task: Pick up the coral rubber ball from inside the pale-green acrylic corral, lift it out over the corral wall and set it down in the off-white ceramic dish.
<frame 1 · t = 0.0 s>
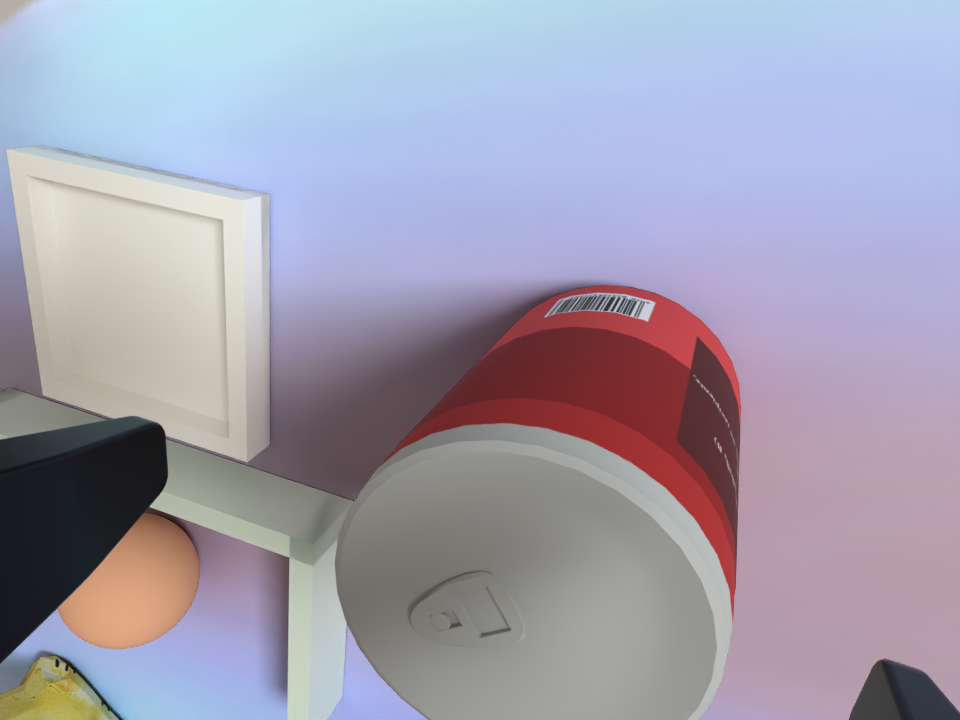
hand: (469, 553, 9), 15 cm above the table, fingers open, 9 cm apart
dish: (159, 299, 28), on the table
chocolate bunny: (93, 708, 41), on the table
canned food: (612, 389, 23), on the table
ball: (130, 578, 31), point 3 cm above the table
corral: (175, 541, 33), on the table
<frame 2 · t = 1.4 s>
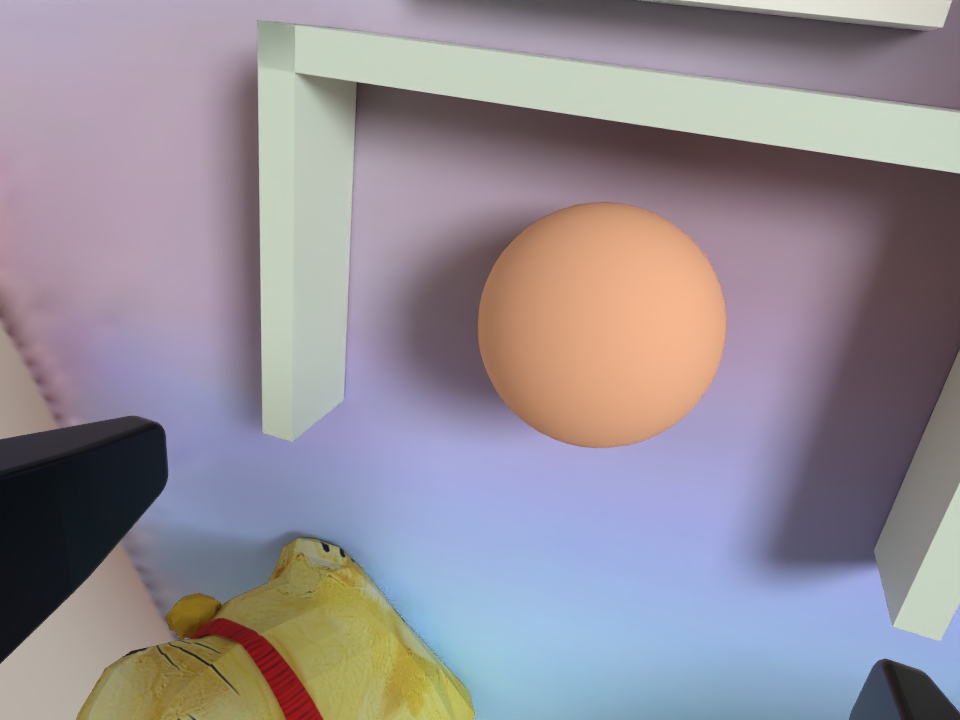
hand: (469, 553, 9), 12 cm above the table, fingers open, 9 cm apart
chocolate bunny: (361, 624, 27), on the table
ball: (598, 326, 17), point 3 cm above the table
corral: (618, 293, 19), on the table
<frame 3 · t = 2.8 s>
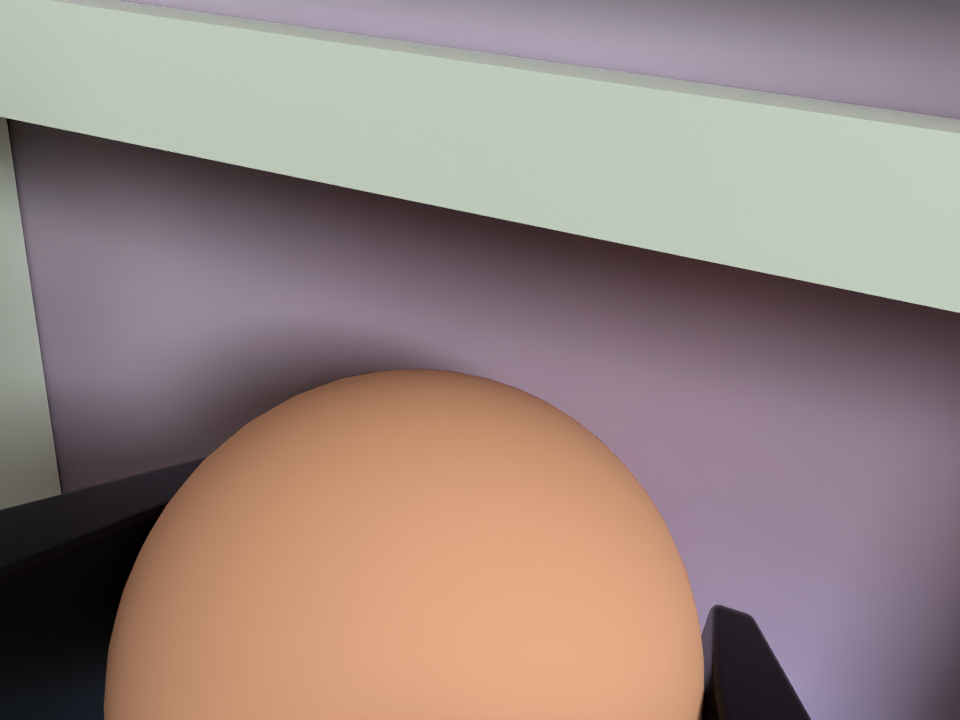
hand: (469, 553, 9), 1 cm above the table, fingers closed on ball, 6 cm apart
ball: (415, 644, 7), point 3 cm above the table, touching gripper
corral: (500, 500, 10), on the table
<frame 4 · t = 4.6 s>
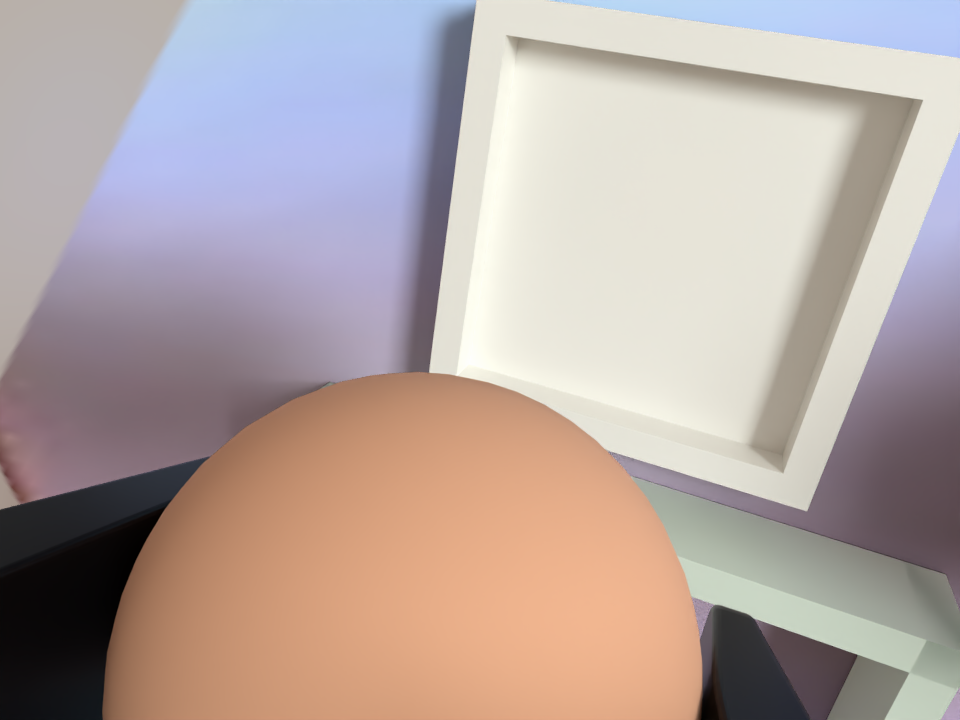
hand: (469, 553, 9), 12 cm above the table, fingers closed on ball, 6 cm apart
dish: (657, 249, 18), on the table
ball: (414, 647, 7), point 13 cm above the table, touching gripper
corral: (566, 612, 23), on the table
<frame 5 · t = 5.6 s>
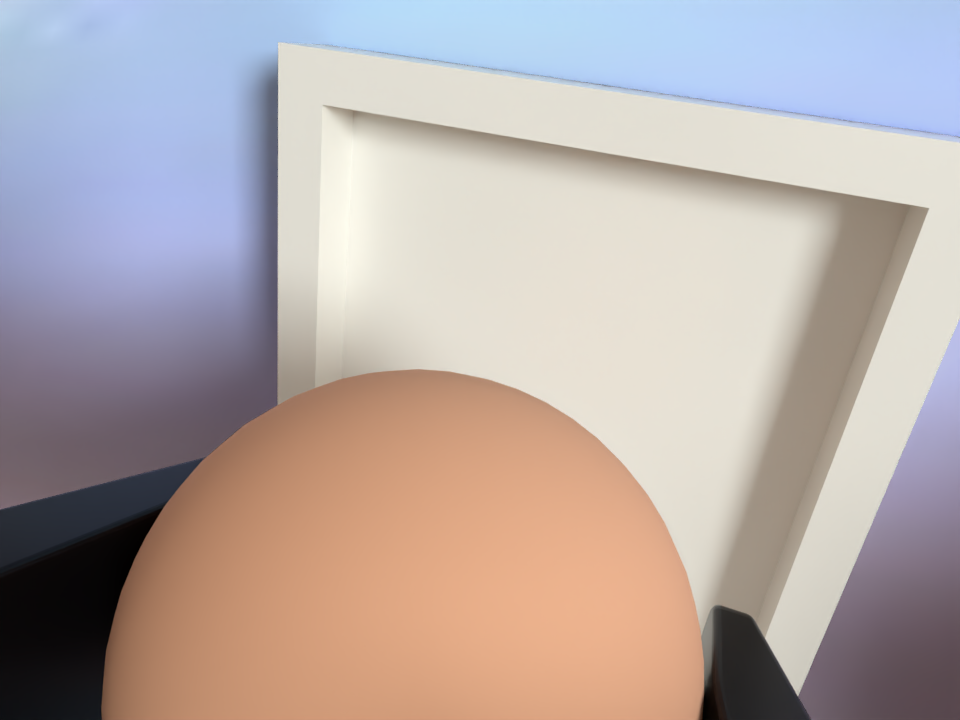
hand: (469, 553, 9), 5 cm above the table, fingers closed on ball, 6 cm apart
dish: (565, 382, 13), on the table
ball: (414, 646, 7), point 7 cm above the table, touching gripper
when the fingers open (3 cm above the table, at t = 6.3 s): ball drops 2 cm, resting on dish.
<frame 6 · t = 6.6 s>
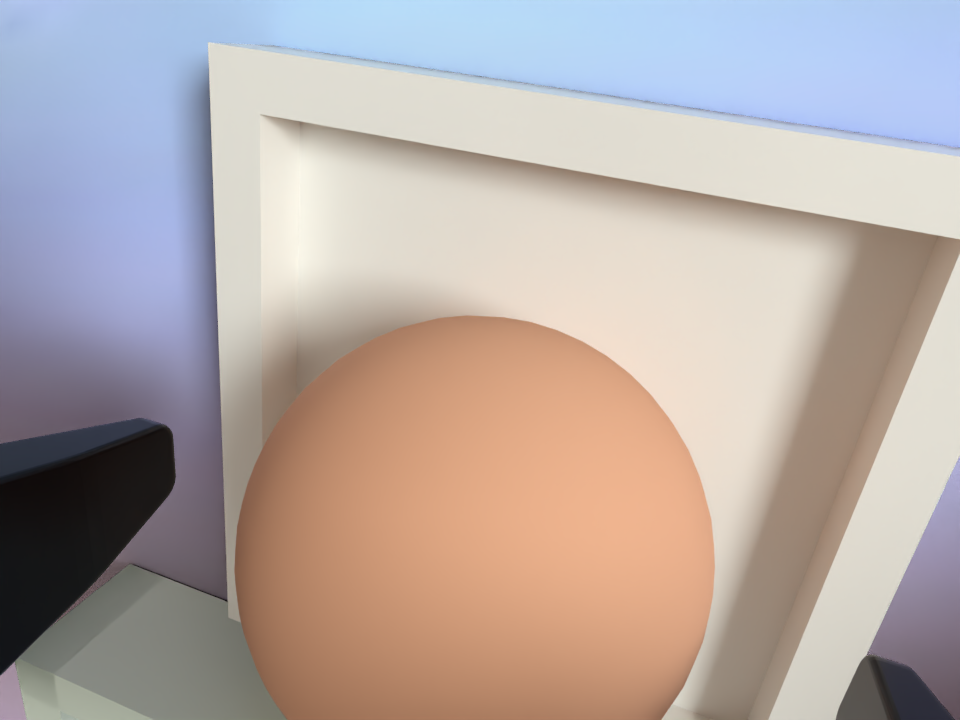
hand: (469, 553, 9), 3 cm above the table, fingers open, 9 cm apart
dish: (543, 424, 12), on the table
ball: (475, 543, 9), point 3 cm above the table, touching dish
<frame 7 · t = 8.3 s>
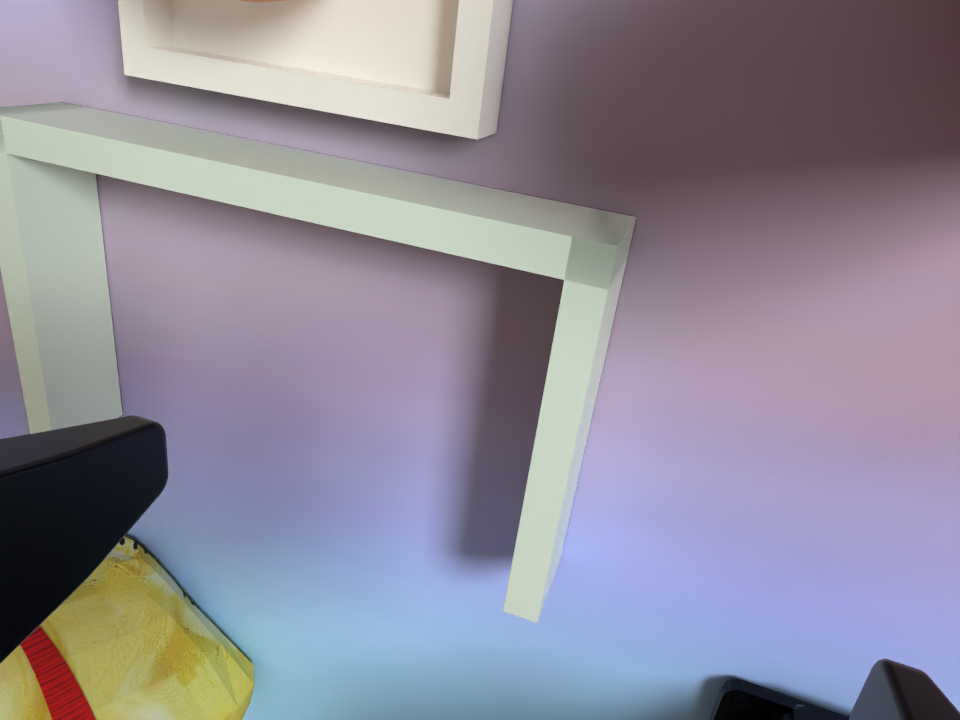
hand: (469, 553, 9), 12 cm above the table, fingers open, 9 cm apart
chocolate bunny: (166, 607, 31), on the table
corral: (314, 331, 22), on the table
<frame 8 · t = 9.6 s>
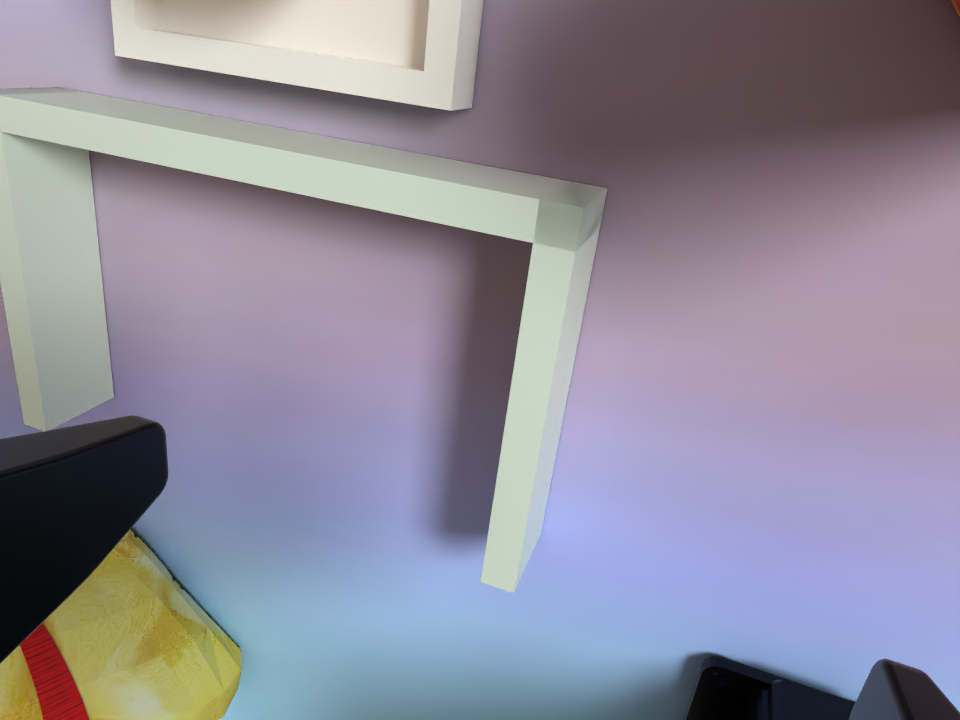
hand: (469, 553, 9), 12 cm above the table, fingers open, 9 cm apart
chocolate bunny: (157, 593, 31), on the table
corral: (298, 309, 23), on the table
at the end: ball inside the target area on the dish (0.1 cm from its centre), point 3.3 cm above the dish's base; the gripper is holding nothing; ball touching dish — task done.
